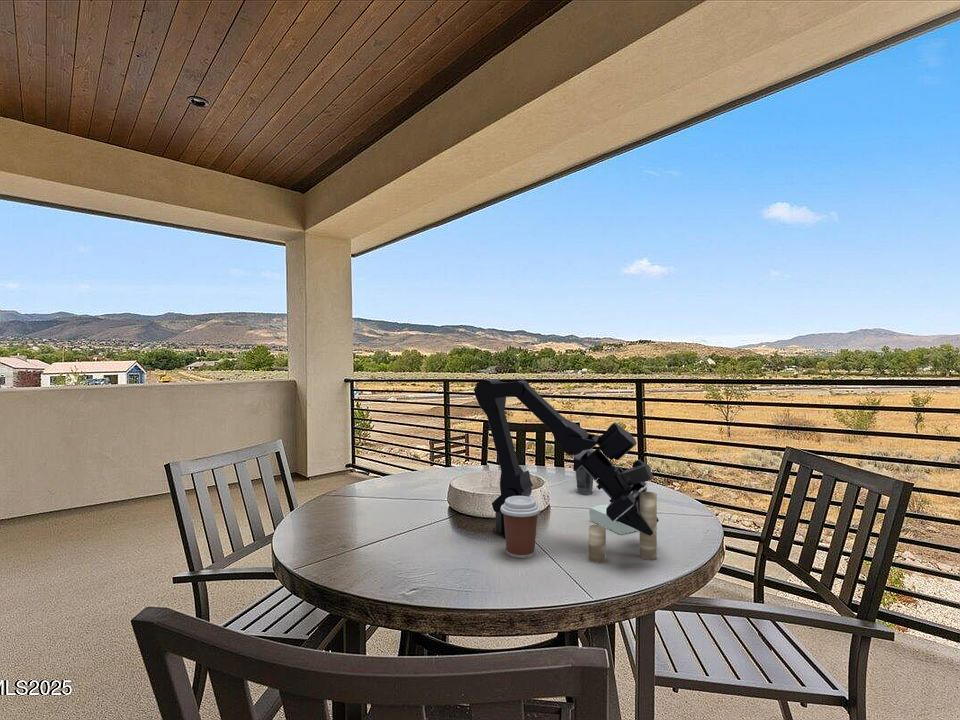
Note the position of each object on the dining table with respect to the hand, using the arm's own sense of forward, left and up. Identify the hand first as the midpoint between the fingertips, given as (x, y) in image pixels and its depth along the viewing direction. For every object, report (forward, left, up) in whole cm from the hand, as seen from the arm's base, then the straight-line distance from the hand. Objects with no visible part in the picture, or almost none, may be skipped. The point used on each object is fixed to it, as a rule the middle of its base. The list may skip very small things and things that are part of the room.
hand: (654, 528), depth 110 cm
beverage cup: (+19, +48, -7) cm, 52 cm away
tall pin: (-1, +1, -7) cm, 7 cm away
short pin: (-12, +5, -7) cm, 14 cm away
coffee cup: (-25, +16, -7) cm, 30 cm away
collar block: (+9, +20, -7) cm, 23 cm away
